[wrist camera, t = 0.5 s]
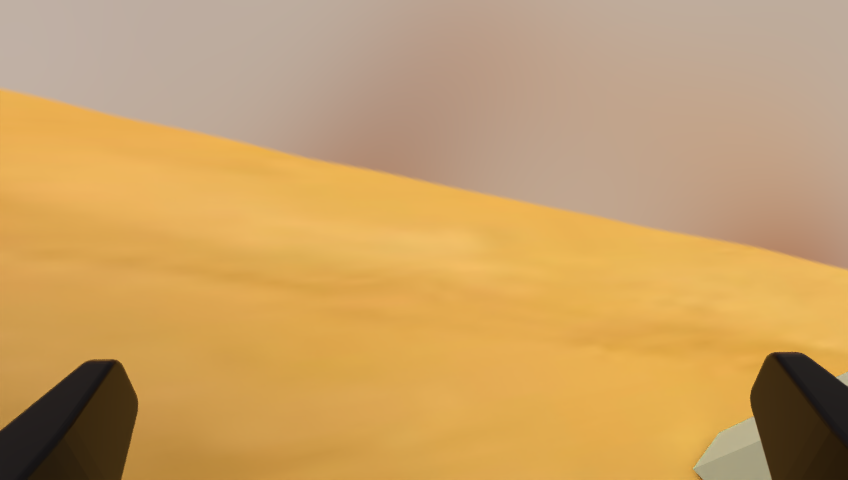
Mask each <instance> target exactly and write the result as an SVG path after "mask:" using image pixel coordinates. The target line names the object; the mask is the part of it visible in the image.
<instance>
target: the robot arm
mask: <svg viewBox="0 0 848 480" xmlns="http://www.w3.org/2000/svg"><path fill="white" fill-rule="evenodd" d="M750 402H751V408H752V412H753V415H754V419H755V422H756V426H757V429H758V433H759V436H760V440H761V444H762V447H763V451H764V454H765V458H766V461H767V465H768V468H769V472H770V475H771V479H772V480H848V386H847V385H845V384H844V383H843V382H841V381H840V380H839V379H837V378H836V377H835V376H833V375H832V374H831V373H829V372H828V371H827V370H825V369H824V368H823V367H821V366H820V365H819V364H817V363H816V362H815V361H813V360H812V359H811V358H809V357H808V356H806V355H804V354H802V353H799V352H774V353H771V354H769V355H768V356H767V357H766V359H765V361H764V363H763V365H762V367H761V369H760V372H759V374H758V376H757V378H756V380H755V383H754V385H753V387H752V390H751V395H750ZM137 412H138V399H137V395H136V393H135V391H134V389H133V386H132V384H131V382H130V380H129V378H128V376H127V374H126V371H125V369H124V367H123V365H122V364H121V363H120V362H119V361H118V360H114V359H102V360H89V361H87V362H85V363H83V364H82V365H80V366H79V367H78V368H77V369H75V370H74V371H73V372H72V373H70V374H69V375H68V376H67V377H66V378H64V379H63V380H62V381H61V382H59V383H58V384H57V385H56V386H55V387H53V388H52V389H51V390H50V391H48V392H47V393H46V394H45V395H44V396H42V397H41V398H40V399H39V400H37V401H36V402H35V403H34V404H32V405H31V406H30V407H29V408H28V409H26V410H25V411H24V412H23V413H21V414H20V415H19V416H18V417H17V418H15V419H14V420H13V421H12V422H10V423H9V424H8V425H7V426H5V427H4V428H3V429H2V430H1V431H0V480H121V478H122V474H123V470H124V466H125V462H126V458H127V453H128V449H129V445H130V441H131V437H132V433H133V429H134V425H135V420H136V416H137Z"/></svg>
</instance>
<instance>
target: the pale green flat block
mask: <svg viewBox="0 0 848 480" xmlns="http://www.w3.org/2000/svg"><path fill="white" fill-rule="evenodd" d="M836 378H837V379H839V380H840V381H841V382H843V383H844V384H845V385H847V386H848V372H846V373H844V374H842V375H840V376H838V377H836ZM693 470H694V471H695V472H696V473H697V474H698V475H699V476H700V477H701V478H702V479H703V480H772V479H771V475H770V472H769V468H768V465H767V461H766V458H765V454H764V451H763V447H762V444H761V440H760V436H759V433H758V429H757V426H756V422H755V419H754V416H753V417H751V418H749V419H747V420H745V421H743V422H741V423H739V424H736V425H734V426H732V427H730V428H728V429H726V430H724V431H722V432H720V433H718V435H717V436H716V438H715V439H714V440H713V442H712V443H711V444H710V446H709V447H708V449H707V450H706V451H705V453H704V454H703V456H702V457H701V458H700V460H699V461H698V463H697V464H696V465H695V467H694V468H693Z"/></svg>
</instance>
